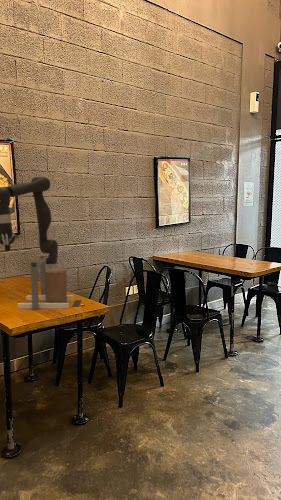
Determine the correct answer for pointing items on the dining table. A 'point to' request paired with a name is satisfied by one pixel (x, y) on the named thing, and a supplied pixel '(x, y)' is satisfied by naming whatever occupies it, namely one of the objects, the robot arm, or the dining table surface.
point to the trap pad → (76, 303)
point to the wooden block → (55, 286)
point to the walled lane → (45, 305)
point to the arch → (34, 279)
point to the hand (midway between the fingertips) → (7, 251)
